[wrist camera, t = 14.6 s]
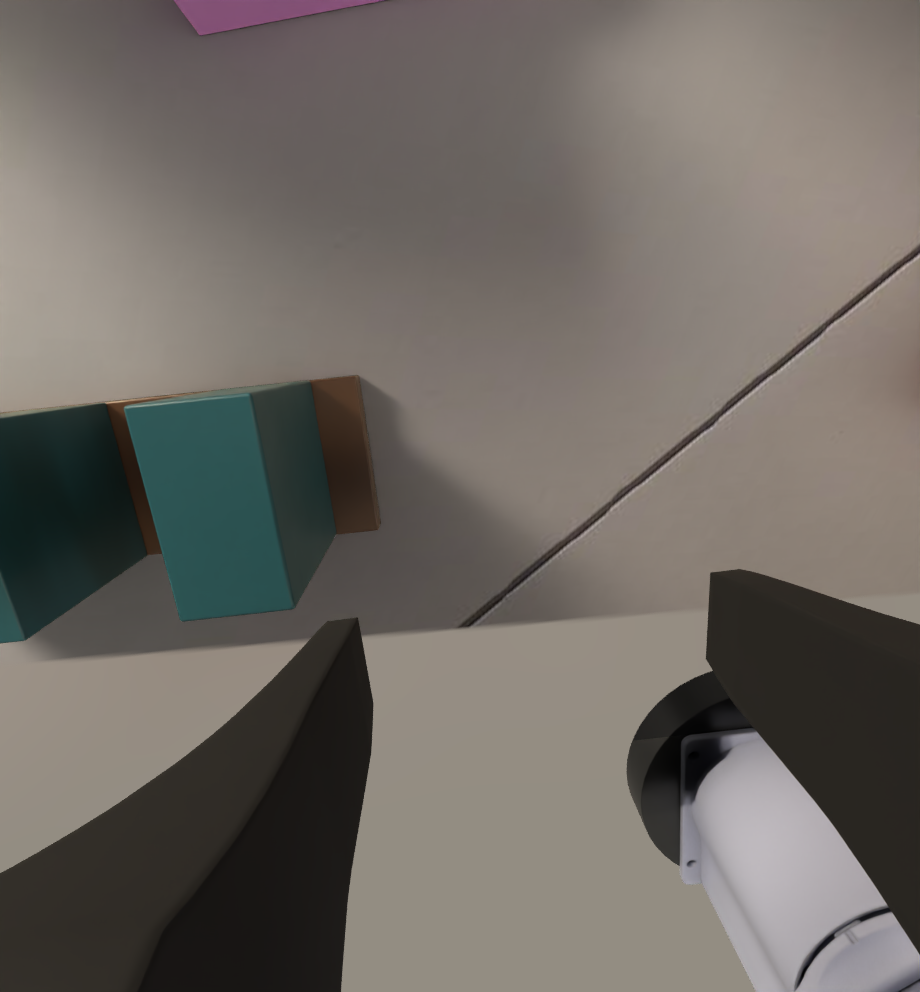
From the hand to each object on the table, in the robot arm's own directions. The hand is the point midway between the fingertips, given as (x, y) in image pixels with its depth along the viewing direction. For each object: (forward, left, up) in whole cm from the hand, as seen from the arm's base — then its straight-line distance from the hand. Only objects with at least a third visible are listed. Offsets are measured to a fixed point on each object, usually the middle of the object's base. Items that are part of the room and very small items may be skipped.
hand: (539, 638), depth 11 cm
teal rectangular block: (+3, +7, -9) cm, 12 cm away
